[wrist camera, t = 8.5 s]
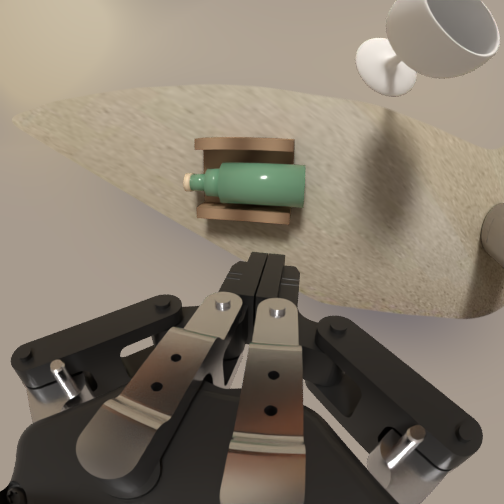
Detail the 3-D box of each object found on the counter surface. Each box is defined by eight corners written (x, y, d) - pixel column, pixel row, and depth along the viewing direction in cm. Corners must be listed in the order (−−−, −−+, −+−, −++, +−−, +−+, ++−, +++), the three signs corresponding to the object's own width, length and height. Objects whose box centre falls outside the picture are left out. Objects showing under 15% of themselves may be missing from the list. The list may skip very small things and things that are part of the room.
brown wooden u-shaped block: (294, 139, 33) (293, 140, 30) (290, 215, 38) (288, 224, 34) (204, 137, 35) (194, 138, 32) (206, 209, 40) (196, 217, 36)
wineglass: (412, 105, 28) (511, 94, 9) (351, 85, 29) (407, 36, 10) (418, 51, 24) (504, 3, 5) (358, 30, 25) (404, -51, 6)
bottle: (305, 172, 29) (176, 169, 31) (302, 214, 32) (181, 208, 34) (305, 160, 33) (192, 158, 36) (303, 198, 36) (195, 193, 38)
